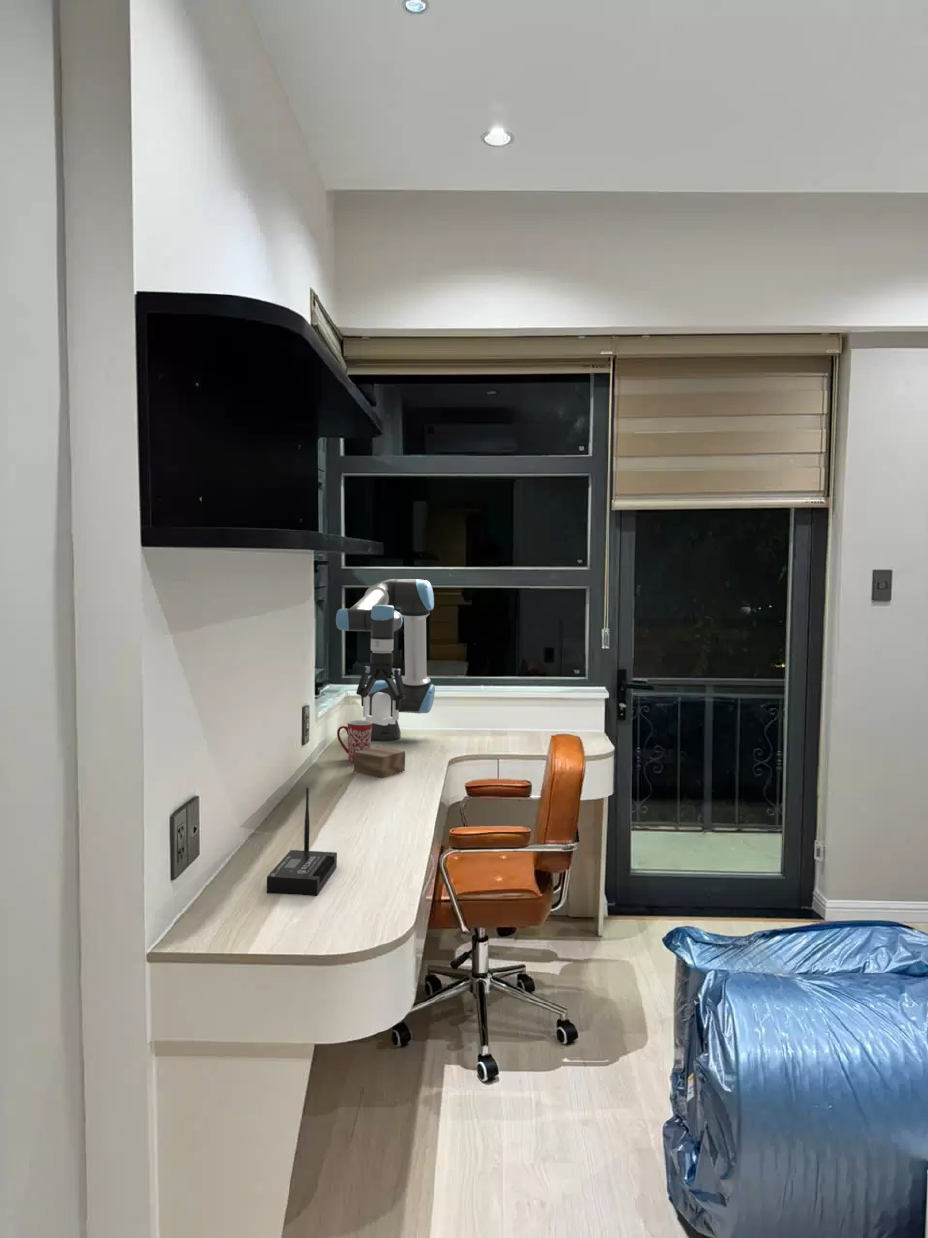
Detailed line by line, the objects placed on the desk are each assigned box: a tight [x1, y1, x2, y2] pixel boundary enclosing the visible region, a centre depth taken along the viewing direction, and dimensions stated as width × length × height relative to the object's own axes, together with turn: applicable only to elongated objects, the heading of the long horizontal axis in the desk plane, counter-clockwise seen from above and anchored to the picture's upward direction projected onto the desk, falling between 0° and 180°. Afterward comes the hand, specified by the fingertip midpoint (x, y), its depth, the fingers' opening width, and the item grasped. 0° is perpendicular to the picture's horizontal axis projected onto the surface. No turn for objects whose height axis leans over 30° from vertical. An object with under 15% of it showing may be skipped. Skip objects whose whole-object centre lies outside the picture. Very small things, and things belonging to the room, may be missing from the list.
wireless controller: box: [266, 787, 338, 897], centre depth 169 cm, size 20×14×17 cm
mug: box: [336, 719, 373, 763], centre depth 279 cm, size 13×9×14 cm
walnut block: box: [353, 746, 406, 779], centre depth 263 cm, size 12×12×7 cm
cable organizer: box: [365, 692, 396, 726], centre depth 262 cm, size 5×10×10 cm, turn 45°
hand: (380, 718), depth 262 cm, fingers closed on cable organizer, 11 cm apart
